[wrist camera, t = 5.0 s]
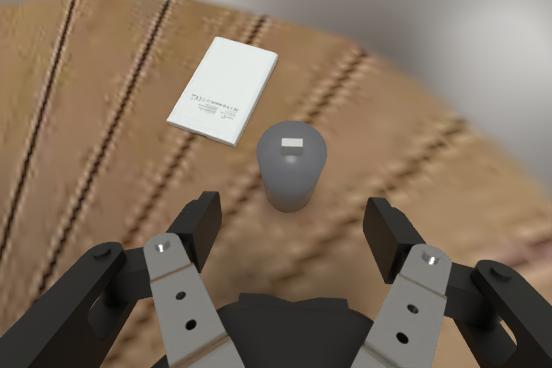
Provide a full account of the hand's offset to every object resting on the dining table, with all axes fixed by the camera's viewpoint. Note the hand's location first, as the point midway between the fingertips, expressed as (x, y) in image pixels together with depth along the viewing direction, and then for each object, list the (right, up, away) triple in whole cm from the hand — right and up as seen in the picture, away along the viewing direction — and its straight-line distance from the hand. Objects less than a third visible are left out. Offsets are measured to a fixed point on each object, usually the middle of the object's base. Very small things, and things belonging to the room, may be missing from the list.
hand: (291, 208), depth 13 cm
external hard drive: (-7, +12, +15) cm, 20 cm away
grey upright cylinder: (0, +1, +11) cm, 11 cm away
